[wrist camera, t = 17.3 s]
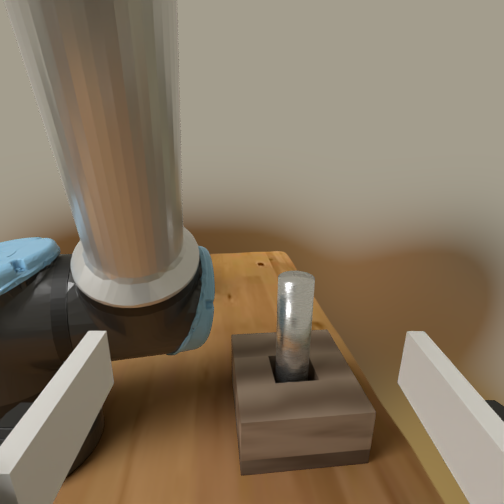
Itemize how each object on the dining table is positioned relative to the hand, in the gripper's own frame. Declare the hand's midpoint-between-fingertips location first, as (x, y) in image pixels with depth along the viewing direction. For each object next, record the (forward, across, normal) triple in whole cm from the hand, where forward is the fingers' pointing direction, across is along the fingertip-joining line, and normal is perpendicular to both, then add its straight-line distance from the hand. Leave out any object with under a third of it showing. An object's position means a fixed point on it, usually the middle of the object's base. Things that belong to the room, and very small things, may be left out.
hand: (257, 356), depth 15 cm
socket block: (+22, +5, -25) cm, 34 cm away
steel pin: (+22, +5, -23) cm, 33 cm away
